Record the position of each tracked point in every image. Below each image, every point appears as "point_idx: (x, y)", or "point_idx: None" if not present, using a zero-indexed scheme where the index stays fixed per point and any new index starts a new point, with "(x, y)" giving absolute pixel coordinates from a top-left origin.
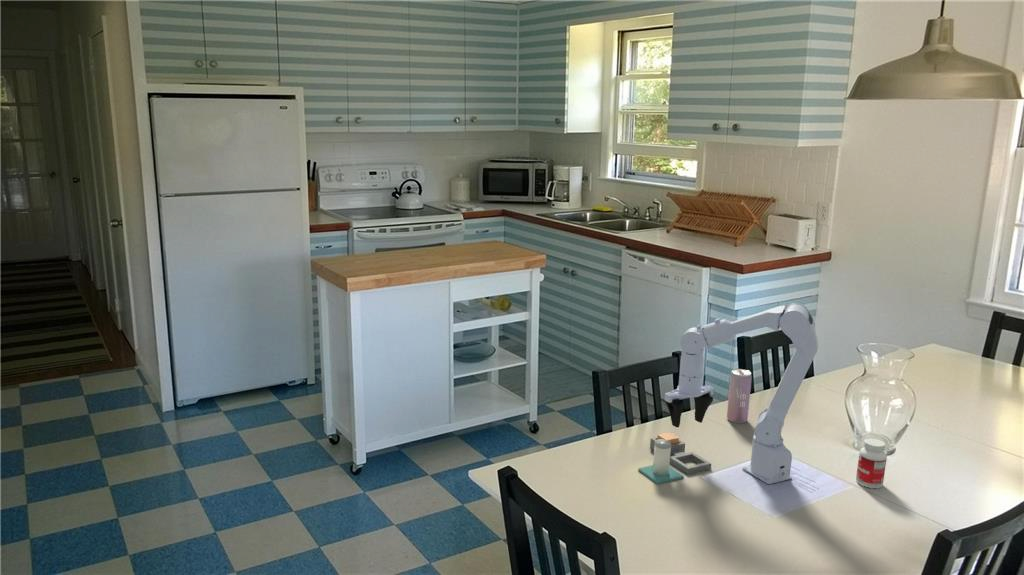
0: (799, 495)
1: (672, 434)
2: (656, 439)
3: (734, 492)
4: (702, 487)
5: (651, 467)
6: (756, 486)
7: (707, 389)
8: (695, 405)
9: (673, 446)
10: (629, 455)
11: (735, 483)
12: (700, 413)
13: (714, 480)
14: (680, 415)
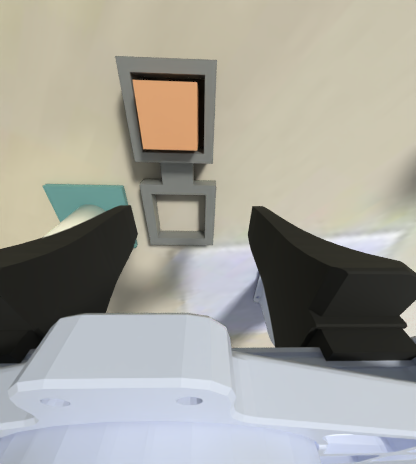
0: (262, 322)
1: (193, 111)
2: (141, 72)
3: (190, 297)
4: (152, 275)
5: (78, 195)
6: (233, 296)
7: (368, 461)
8: (281, 238)
9: (166, 162)
10: (38, 83)
11: (212, 283)
12: (259, 257)
13: (187, 267)
14: (112, 285)
